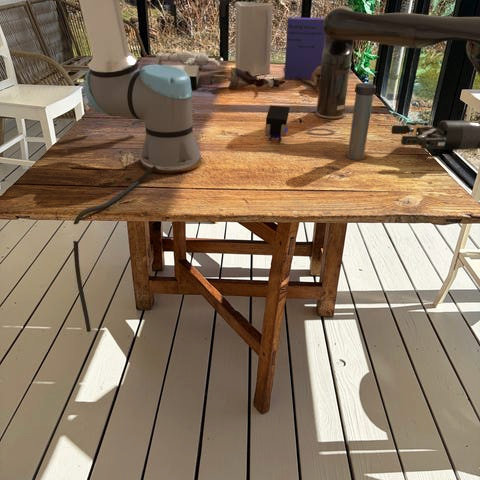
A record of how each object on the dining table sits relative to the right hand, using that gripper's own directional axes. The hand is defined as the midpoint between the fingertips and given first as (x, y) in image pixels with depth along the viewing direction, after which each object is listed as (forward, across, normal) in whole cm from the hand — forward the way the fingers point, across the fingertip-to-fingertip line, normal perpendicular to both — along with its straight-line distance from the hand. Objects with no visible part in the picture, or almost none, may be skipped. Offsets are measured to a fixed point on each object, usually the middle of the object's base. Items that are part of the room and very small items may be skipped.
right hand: (396, 134), depth 126 cm
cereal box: (+11, +93, -6) cm, 94 cm away
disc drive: (+66, +82, -6) cm, 106 cm away
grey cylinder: (+10, 0, -6) cm, 12 cm away
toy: (+63, +114, -6) cm, 130 cm away
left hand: (+54, +39, +20) cm, 69 cm away
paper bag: (+33, +105, -6) cm, 110 cm away
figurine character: (+30, +16, -6) cm, 35 cm away
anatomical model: (+7, +74, -6) cm, 75 cm away
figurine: (+37, +75, -6) cm, 84 cm away
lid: (+10, 0, +12) cm, 16 cm away
